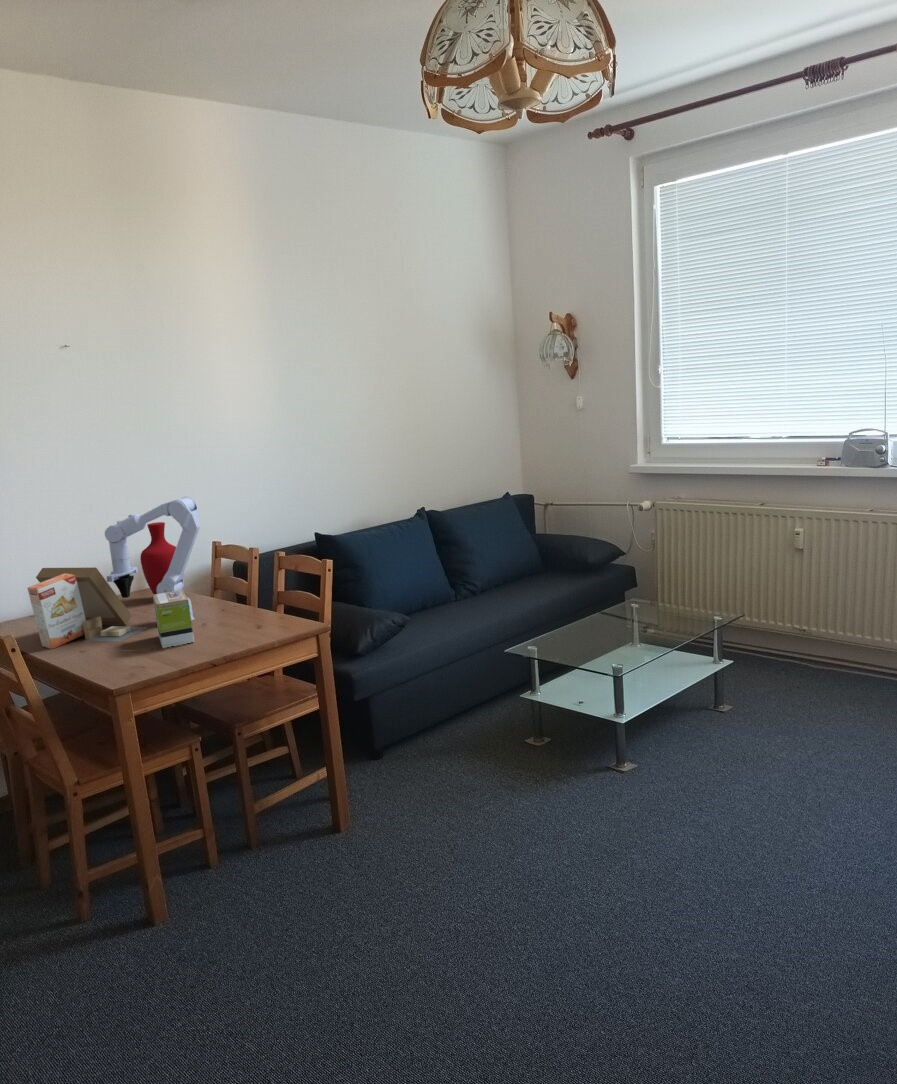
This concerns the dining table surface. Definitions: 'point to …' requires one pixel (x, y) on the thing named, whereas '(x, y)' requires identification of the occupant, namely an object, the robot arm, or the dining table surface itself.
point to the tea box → (173, 618)
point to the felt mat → (118, 638)
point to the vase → (156, 556)
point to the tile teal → (115, 631)
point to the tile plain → (92, 627)
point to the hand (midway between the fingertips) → (125, 597)
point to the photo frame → (93, 594)
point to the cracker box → (57, 610)
